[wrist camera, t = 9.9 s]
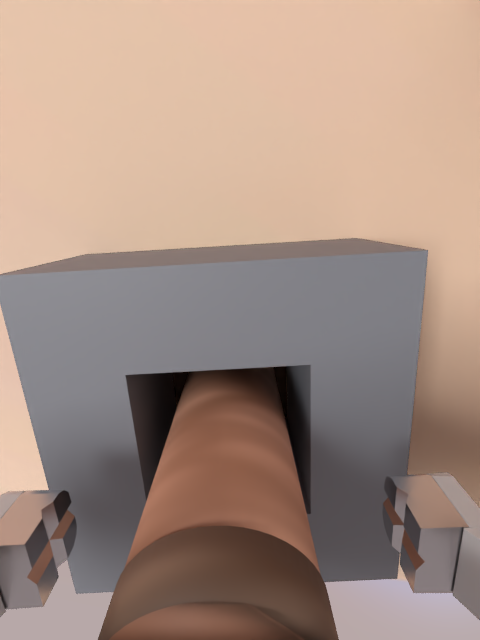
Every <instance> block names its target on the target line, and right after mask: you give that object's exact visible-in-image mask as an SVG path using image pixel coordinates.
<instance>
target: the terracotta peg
mask: <svg viewBox="0 0 480 640" xmlns="http://www.w3.org/2000/svg"><path fill="white" fill-rule="evenodd" d="M98 640H339V639H338V635H337V631H336V627H335V623H334V618H333V614H332V610H331V605H330V601H329V597H328V593H327V589H326V585H325V583H324V581H323V578H322V576H321V574H320V570H319V565H318V561H317V557H316V552H315V548H314V543H313V539H312V535H311V530H310V526H309V522H308V517H307V513H306V509H305V504H304V500H303V495H302V491H301V487H300V482H299V478H298V474H297V469H296V465H295V461H294V456H293V452H292V447H291V443H290V439H289V434H288V430H287V426H286V421H285V417H284V413H283V408H282V404H281V399H280V395H279V391H278V386H277V382H276V378H275V373H274V369H273V367H261V368H243V369H225V370H206V371H189V373H188V376H187V379H186V382H185V385H184V388H183V391H182V394H181V397H180V400H179V403H178V406H177V409H176V413H175V416H174V419H173V422H172V425H171V428H170V431H169V434H168V437H167V440H166V443H165V446H164V449H163V452H162V455H161V458H160V461H159V464H158V467H157V471H156V474H155V477H154V480H153V483H152V486H151V489H150V492H149V495H148V498H147V501H146V504H145V507H144V510H143V513H142V516H141V519H140V522H139V525H138V528H137V532H136V535H135V538H134V541H133V544H132V547H131V550H130V553H129V556H128V559H127V562H126V565H125V568H124V570H123V572H122V573H121V575H120V577H119V579H118V582H117V584H116V587H115V590H114V594H113V596H112V599H111V602H110V605H109V608H108V611H107V614H106V617H105V620H104V623H103V626H102V629H101V632H100V635H99V638H98Z"/></svg>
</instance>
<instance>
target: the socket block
mask: <svg viewBox="0 0 480 640" xmlns="http://www.w3.org/2000/svg"><path fill="white" fill-rule="evenodd" d="M427 256H428V250H424V249H418V248H412V247H406V246H400V245H394V244H388V243H382V242H376V241H370V240H364V239H358V238H352V239H336V240H319V241H302V242H286V243H269V244H252V245H235V246H219V247H202V248H185V249H168V250H152V251H135V252H118V253H102V254H85V255H81V256H77V257H72V258H68V259H64V260H60V261H55V262H51V263H47V264H42V265H38V266H34V267H29V268H25V269H21V270H17V271H12V272H8V273H4V274H0V304H1V308H2V312H3V316H4V320H5V324H6V327H7V331H8V335H9V339H10V343H11V346H12V350H13V354H14V358H15V362H16V366H17V369H18V373H19V377H20V381H21V385H22V388H23V392H24V396H25V400H26V404H27V408H28V411H29V415H30V419H31V423H32V427H33V431H34V434H35V438H36V442H37V446H38V450H39V453H40V457H41V461H42V465H43V469H44V473H45V476H46V480H47V484H48V488H49V490H65V491H67V492H69V495H70V499H71V504H70V506H69V508H68V509H67V510H68V511H70V512H71V513H72V514H73V515H74V516H75V519H76V523H77V535H76V539H75V543H74V547H73V549H72V551H71V553H70V555H69V557H68V559H67V560H68V564H69V568H70V571H71V576H72V580H73V583H74V587H75V591H76V593H77V594H78V593H99V592H114V590H115V587H116V584H117V582H118V579H119V577H120V575H121V573H122V572H123V570H124V568H125V565H126V562H127V559H128V556H129V553H130V550H131V547H132V544H133V541H134V538H135V535H136V532H137V528H138V525H139V522H140V519H141V516H142V513H143V510H144V507H145V504H146V501H147V498H148V495H149V492H150V489H151V486H152V483H153V480H154V477H155V474H156V471H157V467H158V464H159V461H160V458H161V455H162V452H163V449H164V446H165V443H166V440H167V437H168V434H169V431H170V428H171V425H172V422H173V419H174V416H175V413H176V409H177V407H176V399H175V391H174V382H173V374H172V372H188V371H206V370H225V369H243V368H261V367H279V366H286V381H287V418H285V421H286V426H287V430H288V434H289V439H290V443H291V447H292V452H293V456H294V461H295V465H296V469H297V474H298V478H299V482H300V487H301V491H302V495H303V500H304V504H305V509H306V513H307V517H308V522H309V526H310V530H311V535H312V539H313V543H314V548H315V552H316V557H317V561H318V565H319V570H320V574H321V576H322V578H323V581H324V582H334V581H355V580H377V579H397V575H398V565H399V554H400V552H399V551H397V550H396V549H395V548H394V547H392V546H391V543H390V541H389V539H388V537H387V534H386V530H385V527H384V522H383V515H382V511H383V503H384V501H385V500H386V499H387V498H388V496H387V494H386V492H385V490H384V483H385V479H386V477H387V476H396V475H407V469H408V458H409V448H410V437H411V426H412V416H413V405H414V394H415V384H416V373H417V363H418V352H419V341H420V331H421V320H422V309H423V299H424V288H425V278H426V267H427Z"/></svg>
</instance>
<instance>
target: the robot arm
mask: <svg viewBox="0 0 480 640" xmlns="http://www.w3.org/2000/svg"><path fill="white" fill-rule="evenodd" d="M384 490H385V492H386V494H387V496H388V498H387V499H386V500H385V501H384V503H383V511H382V515H383V522H384V527H385V530H386V534H387V537H388V539H389V541H390V543H391V546H392V547H394V548H395V549H396V550H397V551H399V552H400V553H401V556H400V565H401V567H402V570H403V572H404V574H405V576H406V578H407V580H408V582H409V584H410V587H411V589H412V591H413V593H453V596H454V597H455V598H456V599H458V600H459V601H460V602H461V603H462V604H463V605H464V606H465V607H466V608H467V609H468V610H469V611H470V612H471V613H473V614H474V615H475V616H476V617H477V618H478V619H479V620H480V508H479V507H478V505H477V504H476V503H475V502H474V501H473V499H472V498H471V497H470V496H469V495H468V493H467V492H466V491H465V490H464V489H463V487H462V486H461V485H460V484H459V483H458V481H457V480H456V479H455V478H454V477H453V476H452V475H451V474H449V473H448V472H444V473H428V474H415V475H396V476H387V477H386V479H385V483H384ZM70 504H71V499H70V495H69V492H67V491H65V490H40V491H8V492H6V493H4V494H2V495H1V496H0V617H1V616H2V615H3V614H4V613H5V611H6V610H5V609H17V608H31V607H43V606H44V604H45V602H46V600H47V599H48V597H49V595H50V593H51V591H52V589H53V587H54V585H55V583H56V581H57V579H58V571H57V568H58V566H60V565H61V564H62V563H63V562H65V561H66V560H67V559H68V557H69V555H70V553H71V551H72V549H73V547H74V543H75V539H76V535H77V523H76V519H75V516H74V515H73V514H72V513H71V512H70V511H68V510H67V509H68V508H69V506H70Z"/></svg>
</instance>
